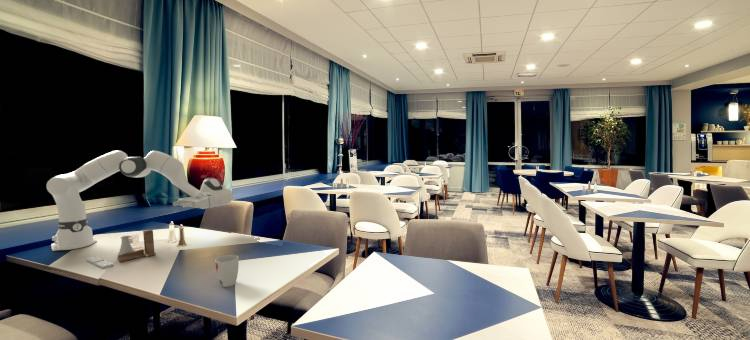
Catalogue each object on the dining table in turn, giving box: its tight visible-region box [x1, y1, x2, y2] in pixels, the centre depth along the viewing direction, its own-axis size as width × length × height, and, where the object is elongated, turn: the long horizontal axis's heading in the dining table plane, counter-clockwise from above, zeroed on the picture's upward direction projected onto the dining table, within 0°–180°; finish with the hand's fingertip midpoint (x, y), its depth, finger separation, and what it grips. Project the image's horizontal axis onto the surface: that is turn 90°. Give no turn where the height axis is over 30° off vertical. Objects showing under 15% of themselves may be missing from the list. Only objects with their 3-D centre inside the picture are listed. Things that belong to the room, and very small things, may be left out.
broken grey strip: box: [85, 255, 114, 269], centre depth 162 cm, size 20×4×1 cm, turn 55°
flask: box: [116, 235, 134, 260], centre depth 170 cm, size 7×7×10 cm
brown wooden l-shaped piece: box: [117, 229, 157, 263], centre depth 172 cm, size 20×14×12 cm
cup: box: [214, 254, 240, 288], centre depth 134 cm, size 8×8×10 cm
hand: (178, 204), depth 182 cm, fingers open, 8 cm apart
